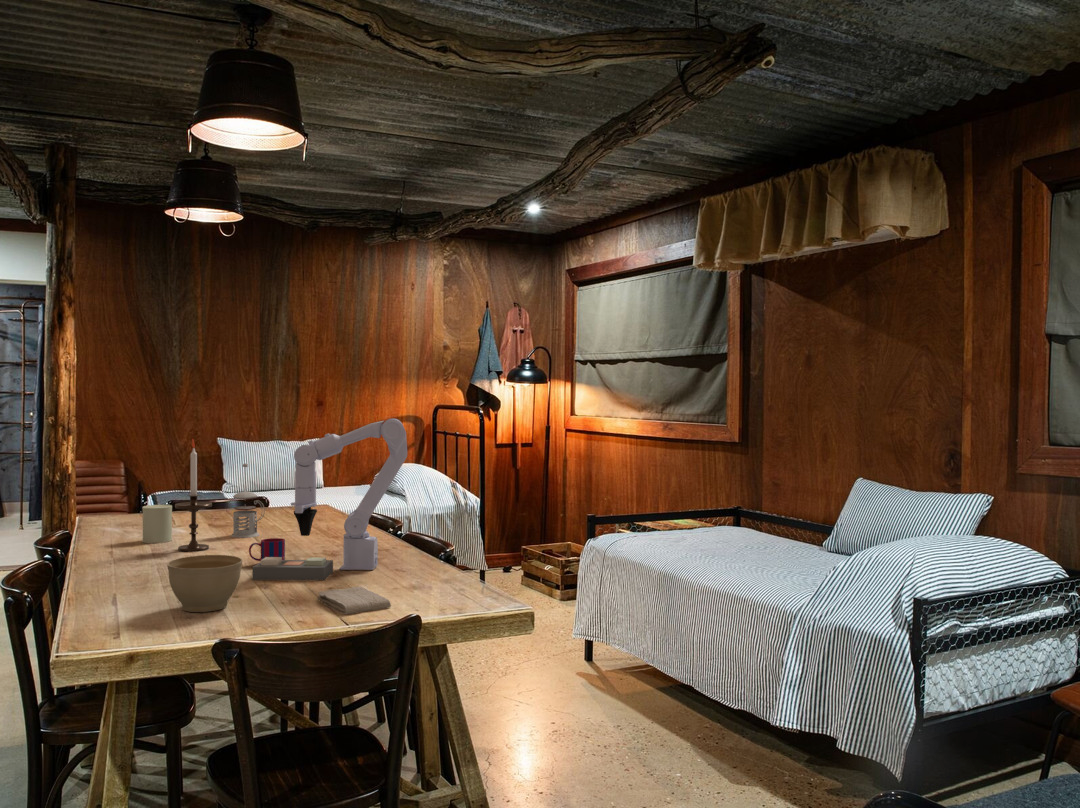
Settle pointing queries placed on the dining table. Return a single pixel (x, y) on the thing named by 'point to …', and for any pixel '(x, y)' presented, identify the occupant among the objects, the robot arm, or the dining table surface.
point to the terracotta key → (293, 563)
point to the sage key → (315, 561)
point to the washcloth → (353, 600)
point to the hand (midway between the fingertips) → (305, 535)
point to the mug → (270, 548)
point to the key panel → (292, 571)
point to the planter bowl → (204, 581)
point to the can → (157, 523)
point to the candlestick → (193, 508)
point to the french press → (245, 515)
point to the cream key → (271, 561)
